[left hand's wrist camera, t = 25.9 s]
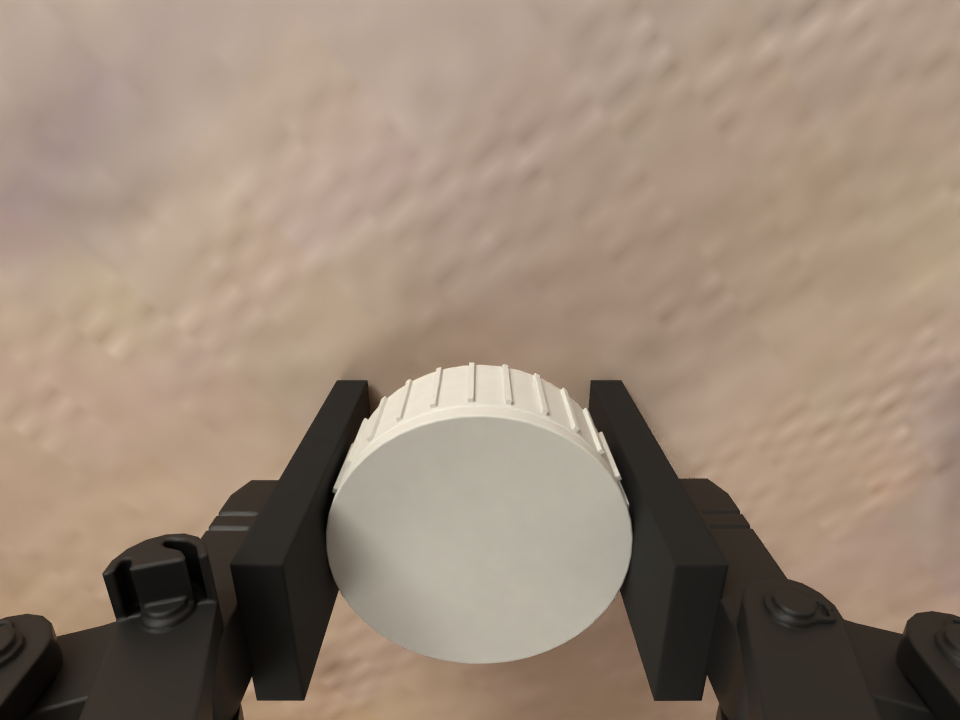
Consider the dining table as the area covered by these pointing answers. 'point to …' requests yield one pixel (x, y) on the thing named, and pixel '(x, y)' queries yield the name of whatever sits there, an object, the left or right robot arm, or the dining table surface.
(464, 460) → the lid
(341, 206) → the dining table surface
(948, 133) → the dining table surface
